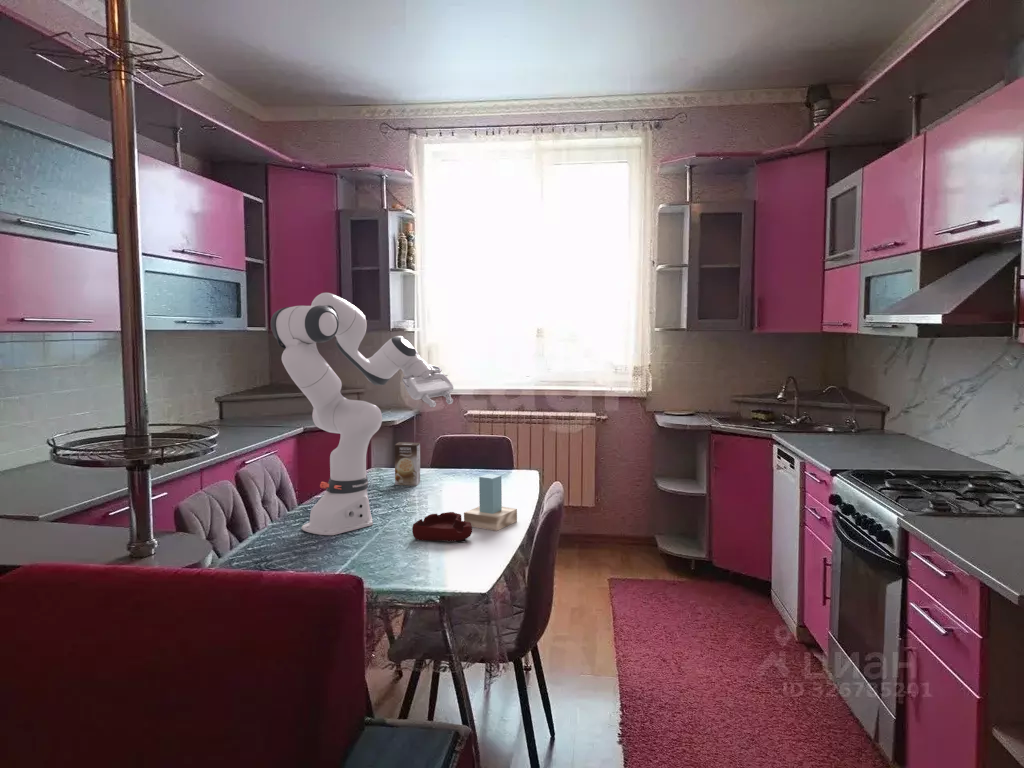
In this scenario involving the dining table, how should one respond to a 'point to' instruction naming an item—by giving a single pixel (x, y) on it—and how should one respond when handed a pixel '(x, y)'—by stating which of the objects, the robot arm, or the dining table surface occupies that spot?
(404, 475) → the coffee box
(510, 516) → the plinth
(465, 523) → the ashtray
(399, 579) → the dining table surface
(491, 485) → the teal block
